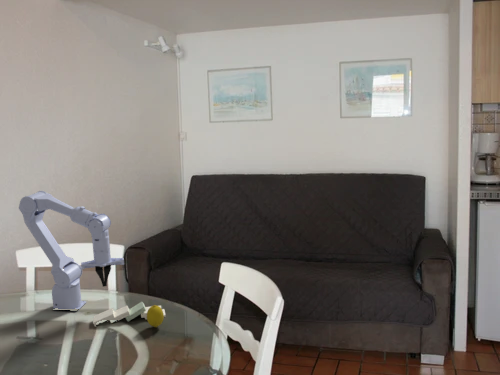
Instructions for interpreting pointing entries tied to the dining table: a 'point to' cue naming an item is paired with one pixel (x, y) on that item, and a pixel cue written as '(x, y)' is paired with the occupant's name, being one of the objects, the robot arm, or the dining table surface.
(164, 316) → the domino
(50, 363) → the dining table surface
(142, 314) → the domino
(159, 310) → the lemon
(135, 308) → the domino
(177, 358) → the dining table surface
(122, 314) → the domino
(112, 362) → the dining table surface
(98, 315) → the light grey rectangular block
